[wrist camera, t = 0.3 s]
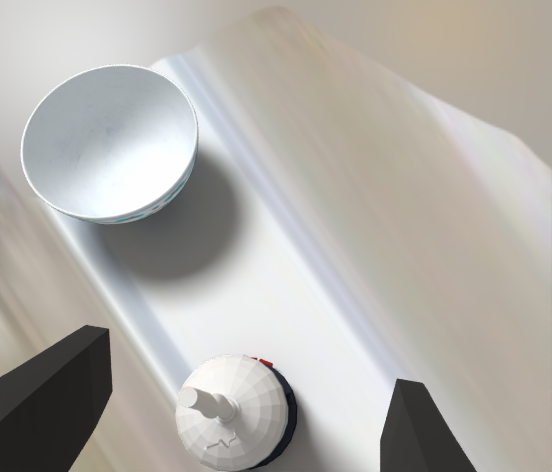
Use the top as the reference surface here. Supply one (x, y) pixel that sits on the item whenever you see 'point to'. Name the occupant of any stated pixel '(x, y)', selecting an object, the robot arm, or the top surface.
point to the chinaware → (111, 144)
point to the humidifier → (236, 413)
